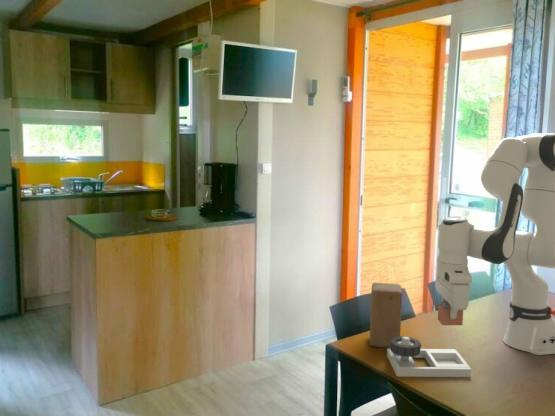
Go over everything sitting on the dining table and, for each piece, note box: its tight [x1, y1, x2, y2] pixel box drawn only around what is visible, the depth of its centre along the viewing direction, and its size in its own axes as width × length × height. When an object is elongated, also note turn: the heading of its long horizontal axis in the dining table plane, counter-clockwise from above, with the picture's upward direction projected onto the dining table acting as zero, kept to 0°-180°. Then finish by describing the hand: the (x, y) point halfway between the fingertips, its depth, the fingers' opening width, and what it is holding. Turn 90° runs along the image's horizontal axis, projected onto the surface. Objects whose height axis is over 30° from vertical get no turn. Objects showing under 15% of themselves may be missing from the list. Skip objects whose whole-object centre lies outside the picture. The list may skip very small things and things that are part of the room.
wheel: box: [389, 335, 422, 357], centre depth 162 cm, size 9×9×3 cm
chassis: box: [386, 336, 472, 378], centre depth 162 cm, size 22×14×9 cm, turn 90°
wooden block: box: [369, 282, 403, 349], centre depth 179 cm, size 10×10×20 cm
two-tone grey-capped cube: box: [437, 300, 464, 326], centre depth 160 cm, size 6×5×6 cm
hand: (449, 314), depth 160 cm, fingers closed on two-tone grey-capped cube, 5 cm apart
